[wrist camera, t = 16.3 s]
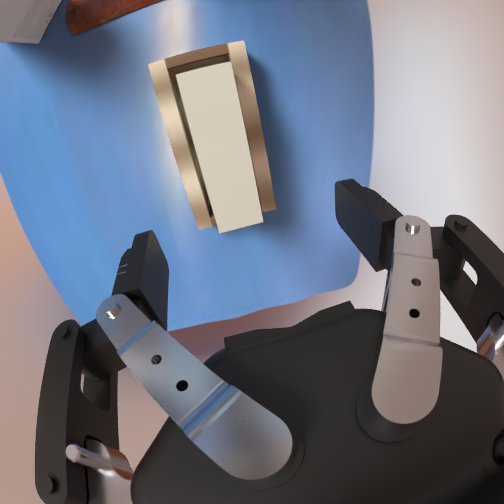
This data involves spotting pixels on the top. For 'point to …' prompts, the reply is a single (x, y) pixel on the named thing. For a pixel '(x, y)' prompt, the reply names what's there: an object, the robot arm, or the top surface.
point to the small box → (25, 19)
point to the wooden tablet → (99, 12)
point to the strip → (221, 144)
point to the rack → (180, 131)
